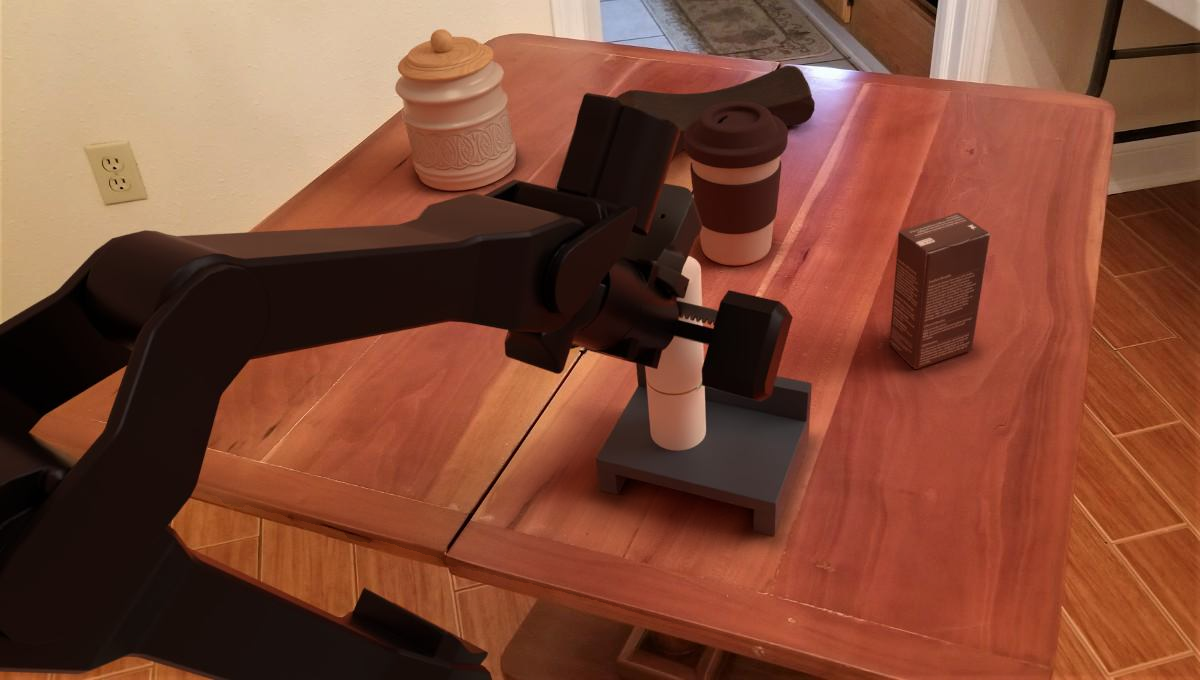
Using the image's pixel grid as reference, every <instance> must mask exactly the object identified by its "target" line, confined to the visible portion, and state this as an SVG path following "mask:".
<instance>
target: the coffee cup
mask: <svg viewBox="0 0 1200 680" xmlns="http://www.w3.org/2000/svg"><path fill="white" fill-rule="evenodd" d="M788 137H789V131H788V126H787V125H785V123H784V122H783V121H782V120H780V119H779V118H778V117H776V116H773V115H771V113H770V111H769V110H768V109H767V108H765V107H764V106H761V105H759V104H756V103H751V102H743V101H735V102H725V103H720V104H717V105H714V106H711V107H710V108H708V109H706V110H705V111H703V113H702V114H701V115H700V117H699V118H697V119H696V120H694V121H693V122H691V123H690V124H689V125H688V126H687V128H686V129H685V132H684V148H685V149H684V151H685V153H686V155H687V156H688V157H689V158H690V159H691V162H690V177H691V179H690V180H691V186H692V195H693V198H694V201H695V204H696V207H697V210H698V213H699V216H700V219H701V222H702V229H701V231H700V234H699V239H700V247H701V250H702V252H703V254H704V255H705V257H707V258H708V259H709V260H711V261H713V262H715V263H717V264H721V265H726V266H745V265H750V264H753V263H755V262H758V261H760V260H761V259H763V258H764V257H766V256H767V254H768V253H769V252H770V250H771V248H772V243H773V241H772V240H773V233H774V232H773V230H774V223H775V222H774V221H775V218H776V216H777V213H778V202H779V195H780V183H781V174H782V161H781V155H783V153H784V152H785V151H786V150H787V147H788Z"/></svg>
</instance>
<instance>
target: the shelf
mask: <svg viewBox="0 0 1200 680" xmlns="http://www.w3.org/2000/svg"><path fill="white" fill-rule="evenodd" d="M635 368H636V378H637V387H636V389H635V390H634V392H633V394H632V396H631V397H630V399H629V401H628V402H627V404H626V406H625V408H624V409H623V411H622V412H621V415H620V416H619V418H618V419H617V421H616V423H615V425H614V426H613V428H612V430H611V431H610V433H609V434H608V436H607V438H606V440H605V442H604V443H603V445H602V446H601V448H600V450H599V452H598V454H597V455H596V457H595V458H594V461H595V467H596V475H597V481H598V488H599V490H600V492H601V491H602V492H606V493H609V494H614V495H619V494H620V492H621V489H622V488H623V486H624V484H625V482H626V480H627V479H628V478H629V479H632V480H636V481H639V482H644V483H648V484H652V485H656V486H659V487H664V488H668V489H672V490H675V491H680V492H684V493H688V494H691V495H696V496H699V497H704V498H707V499H711V500H714V501H720V502H723V503H727V504H731V505H735V506H739V507H742V508H747V509H751V510H753V531H754V532H757V533H761V534H765V535H769V536H772V537H775V536H776V535H777V531H778V529H779V526H780V523H781V521H782V518H783V516H784V512H785V509H786V506H787V503H788V501H789V498H790V495H791V494H792V493H791V492H792V490H793V487H794V484H795V481H796V479H797V476H798V474H799V470H800V468H801V465H802V463H803V459H804V457H805V454H806V451H807V449H808V446H809V440H810V439H809V436H810V419H811V403H812V387H813V384H812V382H810V381H809V382H808V381H804V380H799V379H794V378H788V377H784V376H778V375H777V376H776V380H775V384H774V387H773V391H772V394H771V396H770V397H768V398H766V399H765V400H763V401H761V402H759V401H755V400H751V399H748V398H744V397H740V396H737V395H733V394H729V393H726V392H722V391H719V390H715V389H712V388H708V387H705V415H706V434H705V437H704V439H703V440H702V441H701V442H700V443H699V444H698V445H696V446H695V447H692V448H690V449H686V450H679V451H676V450H668V449H665V448H662V447H661V446H659V445H658V444H656V443H655V442H654V440H653V439H652V437H651V431H650V419H649V406H648V394H647V381H646V370H645V366H643V365H640V364H636V363H635Z"/></svg>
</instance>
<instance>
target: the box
mask: <svg viewBox="0 0 1200 680" xmlns="http://www.w3.org/2000/svg"><path fill="white" fill-rule="evenodd" d="M990 236H991V233H990V232H989V231H988V230H986V229H984V228H983V227H981V226H980V225H978V224H977V223H975V222H973V220H971V219H969V218H968V217H966V216H965V215H963V214H962V213H960V212H956V213H953V214H949V215H946V216H943V217H940V218H937V219H933V220H929V221H927V222H923V223H920V224H917V225H914V226H910V227H907V228H903V229H899V230H898V239H897V249H896V250H897V251H896V263H895V275H894V285H893V295H892V307H891V318H890V331H889V342H888V343H889V346H891V347H892V349H893V350H894V351H895V352H897V354H898V355H899V356H900V357H901V358H902V359H903V360H904V361H906V362H907V364H909V366H911V367H913V369H915V370H917V369H920V368H924V367H927V366H929V365H932V364H935V363H938V362H941V361H944V360H948V359H949V358H953V357H955V356H958V355H961V354H964V353H968V352H971V351H972V350H973V345H974V339H975V332H976V326H977V320H978V315H979V314H978V312H979V306H980V301H981V295H982V289H983V281H984V275H985V268H986V263H987V256H988V251H989V243H990Z"/></svg>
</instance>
